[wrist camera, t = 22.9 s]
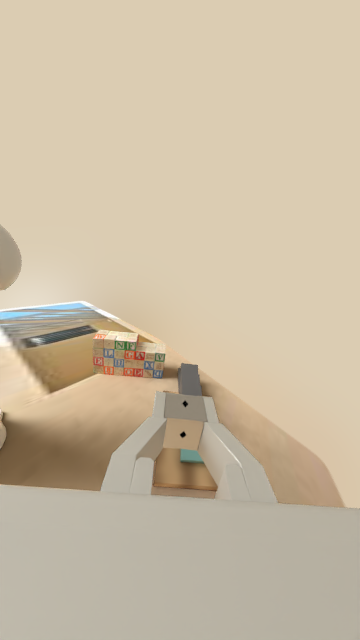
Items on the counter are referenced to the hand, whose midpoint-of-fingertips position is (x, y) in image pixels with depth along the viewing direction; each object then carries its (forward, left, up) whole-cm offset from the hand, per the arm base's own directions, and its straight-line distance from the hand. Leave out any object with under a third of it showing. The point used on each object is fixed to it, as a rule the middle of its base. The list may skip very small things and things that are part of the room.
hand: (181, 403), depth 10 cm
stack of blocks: (-11, +43, -30) cm, 54 cm away
